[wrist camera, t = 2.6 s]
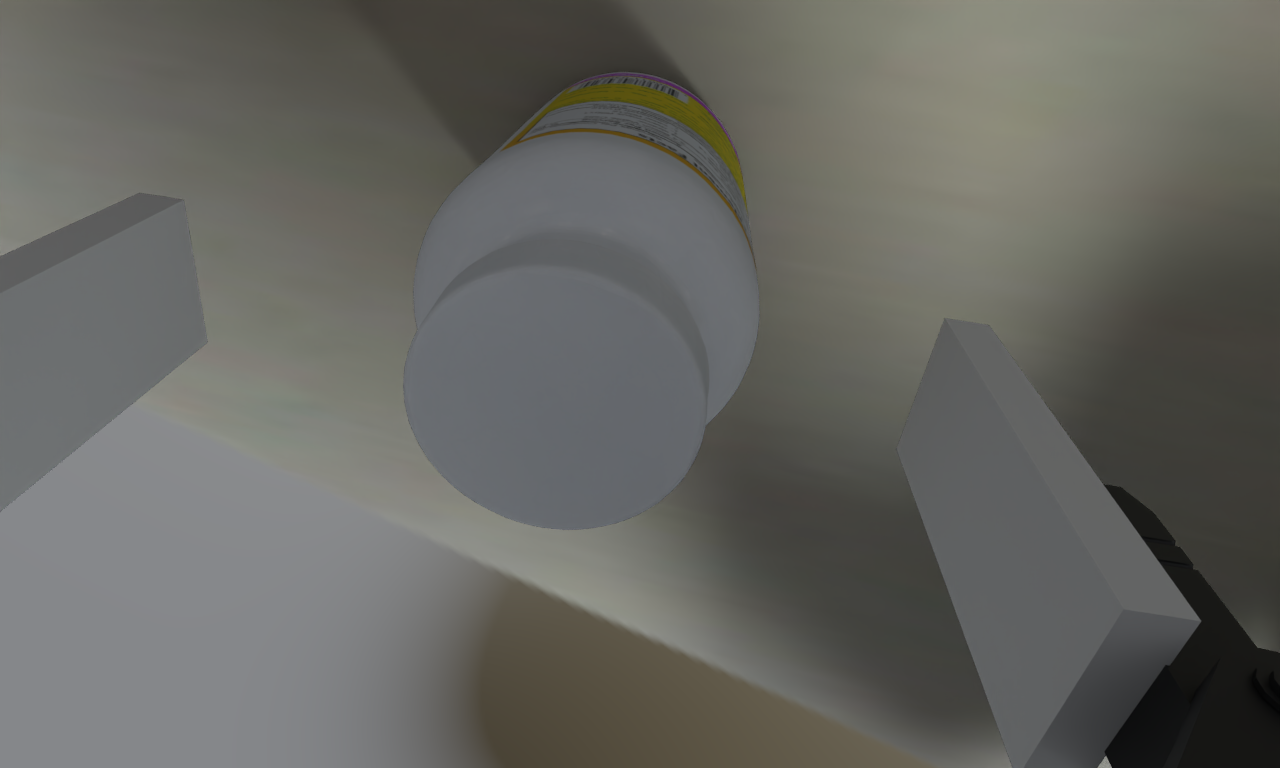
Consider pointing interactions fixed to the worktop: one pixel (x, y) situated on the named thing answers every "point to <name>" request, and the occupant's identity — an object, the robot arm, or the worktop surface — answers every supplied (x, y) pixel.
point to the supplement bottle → (585, 306)
